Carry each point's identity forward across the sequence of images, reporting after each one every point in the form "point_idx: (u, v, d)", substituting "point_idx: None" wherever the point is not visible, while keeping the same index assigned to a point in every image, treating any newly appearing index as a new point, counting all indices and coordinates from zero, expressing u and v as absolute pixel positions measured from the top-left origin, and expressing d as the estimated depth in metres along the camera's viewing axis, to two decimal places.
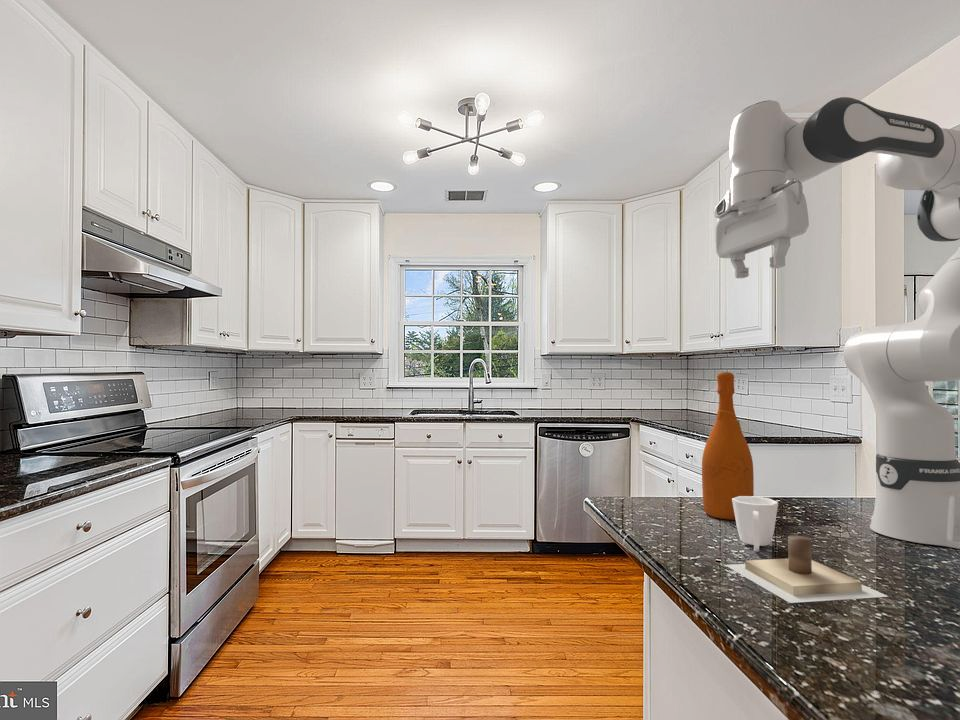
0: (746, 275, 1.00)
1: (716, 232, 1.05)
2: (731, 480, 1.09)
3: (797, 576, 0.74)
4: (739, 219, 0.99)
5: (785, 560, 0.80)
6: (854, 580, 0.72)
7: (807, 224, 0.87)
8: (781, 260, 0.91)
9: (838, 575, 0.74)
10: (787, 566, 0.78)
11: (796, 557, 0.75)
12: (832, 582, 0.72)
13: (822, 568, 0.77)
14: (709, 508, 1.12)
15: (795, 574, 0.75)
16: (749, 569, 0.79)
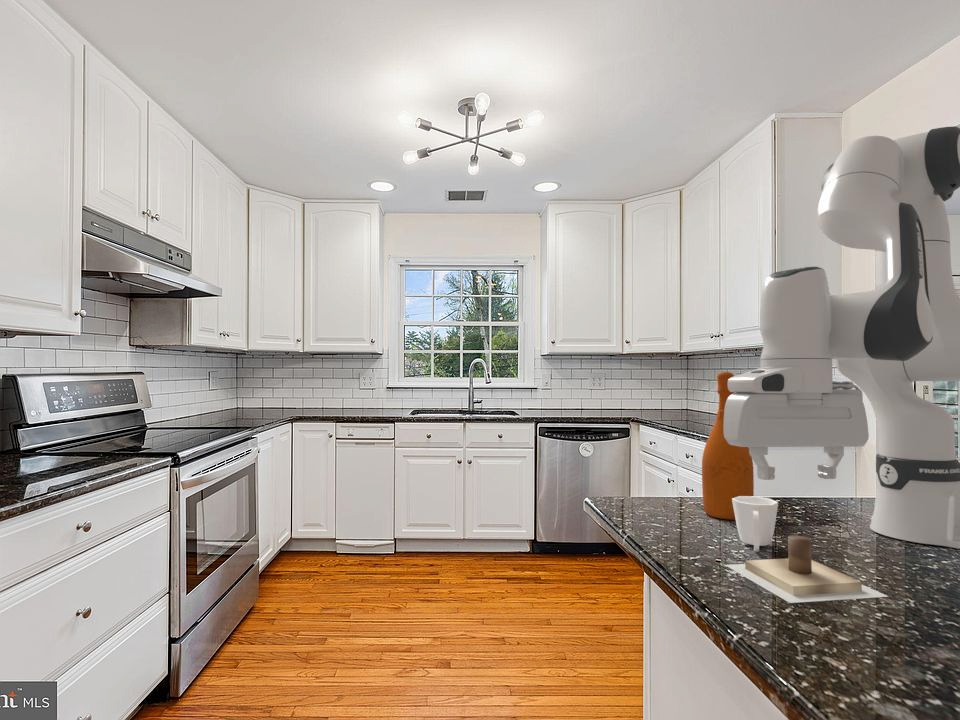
0: None
1: (747, 411, 0.73)
2: (731, 480, 1.09)
3: (797, 576, 0.74)
4: (787, 406, 0.75)
5: (785, 560, 0.80)
6: (854, 580, 0.72)
7: None
8: None
9: (838, 575, 0.74)
10: (787, 566, 0.78)
11: (796, 557, 0.75)
12: (832, 582, 0.72)
13: (822, 568, 0.77)
14: (709, 508, 1.12)
15: (795, 574, 0.75)
16: (749, 569, 0.79)
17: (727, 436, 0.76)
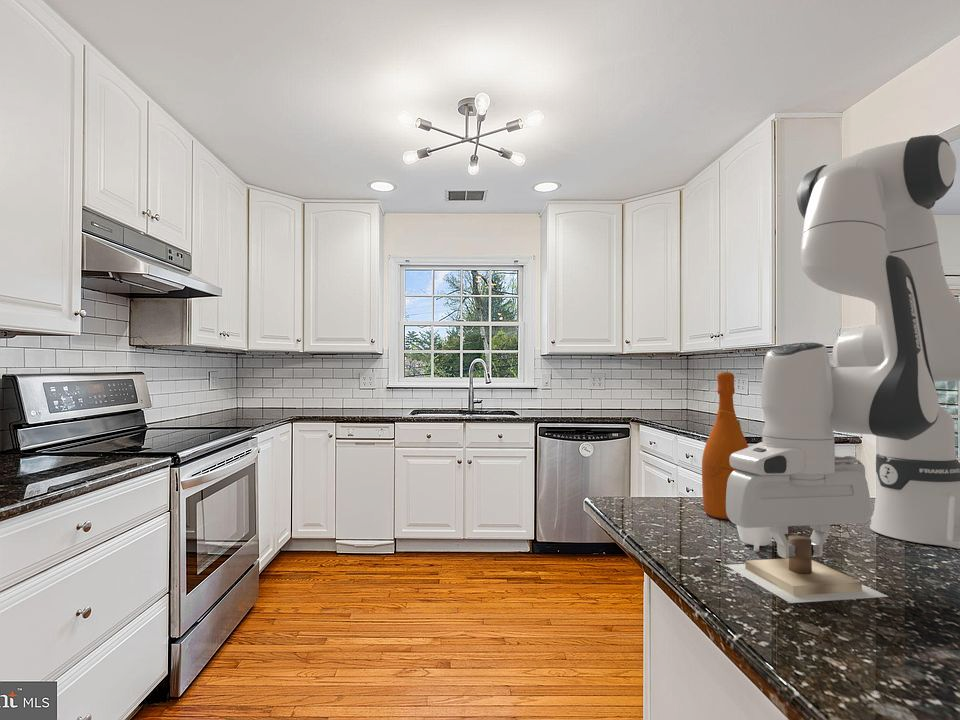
0: None
1: (750, 493, 0.73)
2: None
3: (797, 576, 0.74)
4: (789, 485, 0.74)
5: (785, 560, 0.80)
6: (854, 580, 0.72)
7: None
8: None
9: (839, 575, 0.74)
10: (787, 566, 0.78)
11: (796, 557, 0.75)
12: (832, 582, 0.72)
13: (822, 568, 0.77)
14: (709, 508, 1.12)
15: (795, 574, 0.75)
16: (749, 569, 0.79)
17: (729, 515, 0.76)
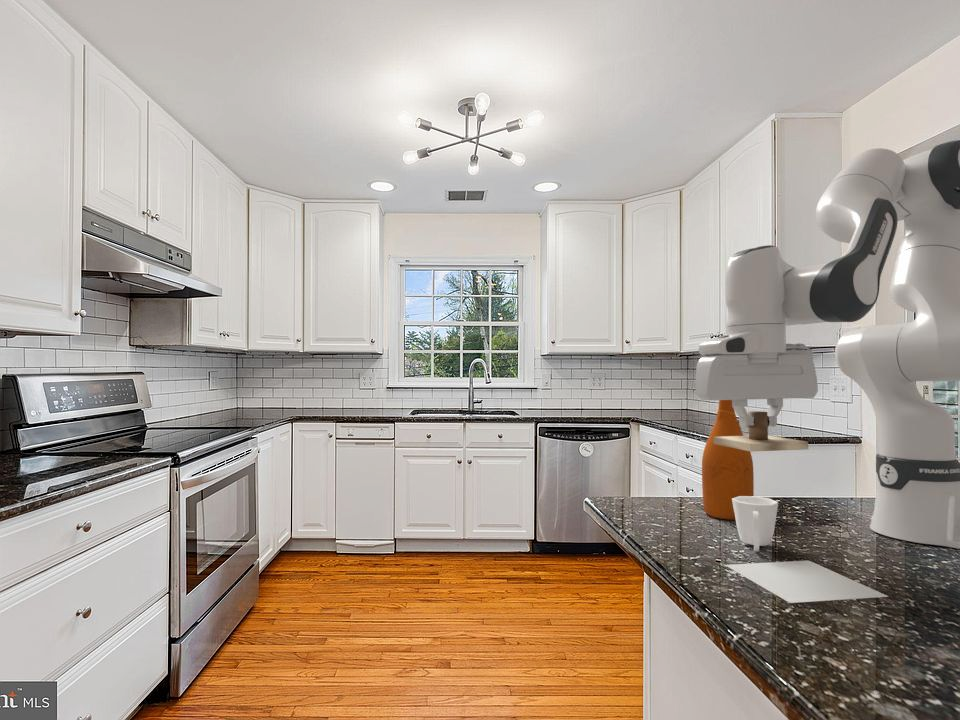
0: None
1: (715, 370, 0.87)
2: (731, 480, 1.09)
3: (755, 440, 0.87)
4: (748, 365, 0.88)
5: (747, 436, 0.94)
6: (802, 441, 0.86)
7: None
8: None
9: (790, 439, 0.88)
10: (748, 438, 0.92)
11: (754, 426, 0.89)
12: (783, 442, 0.86)
13: (777, 438, 0.91)
14: (709, 508, 1.12)
15: (754, 440, 0.88)
16: (716, 442, 0.93)
17: (698, 392, 0.89)
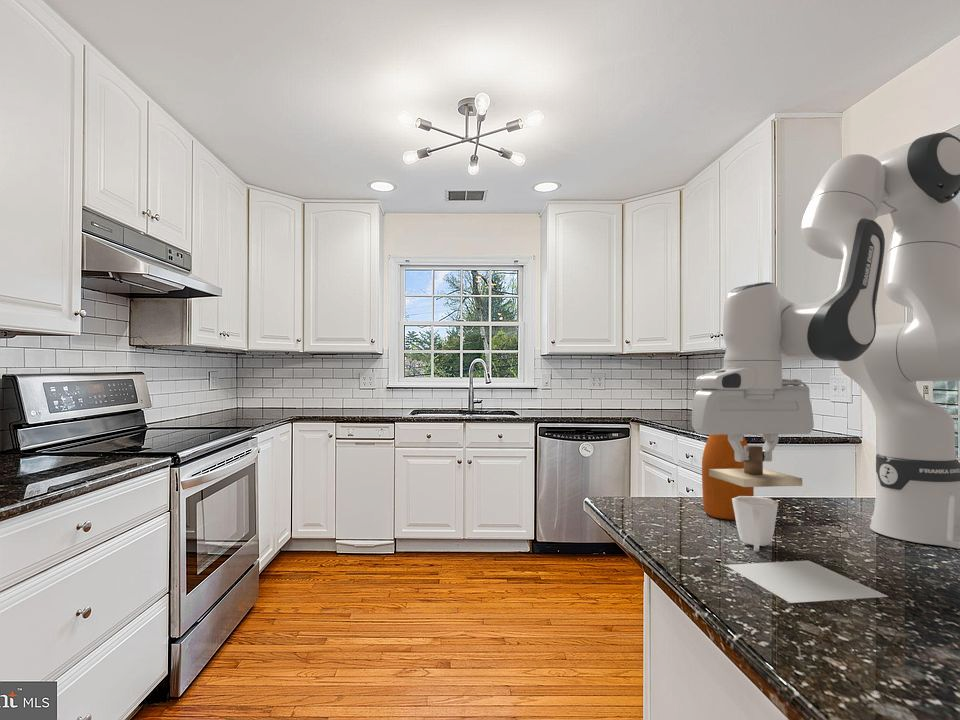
0: None
1: (710, 404, 0.88)
2: None
3: (750, 475, 0.88)
4: (744, 400, 0.89)
5: (743, 469, 0.95)
6: (796, 477, 0.87)
7: None
8: None
9: (784, 475, 0.89)
10: (743, 471, 0.92)
11: (749, 461, 0.90)
12: (778, 478, 0.86)
13: (772, 472, 0.91)
14: (709, 508, 1.12)
15: (748, 474, 0.89)
16: (712, 475, 0.94)
17: (694, 426, 0.90)
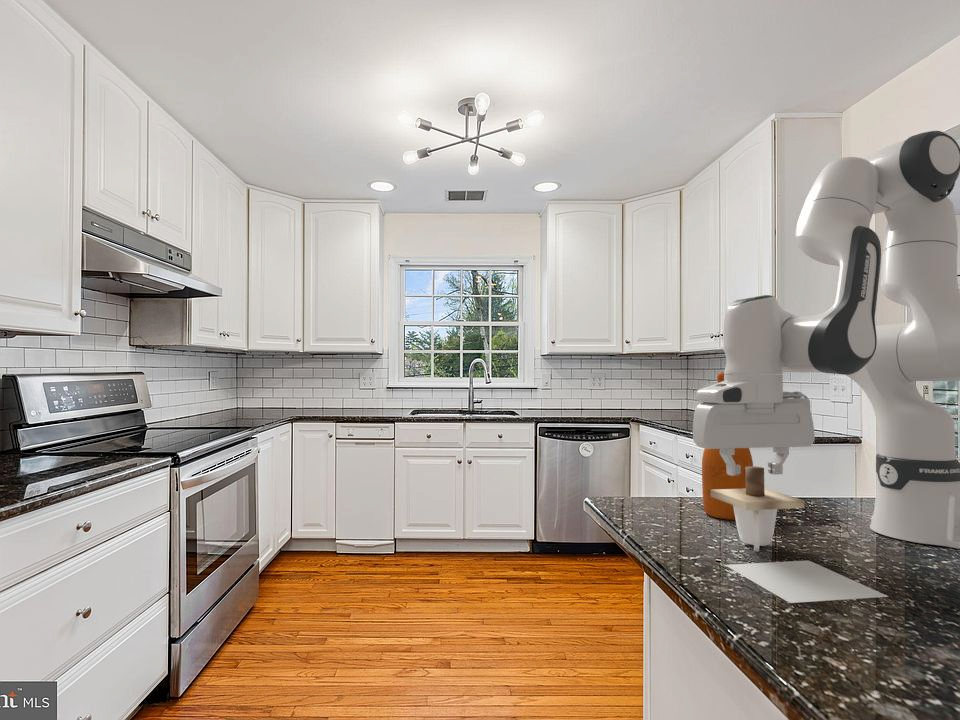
0: None
1: (711, 419, 0.87)
2: (731, 480, 1.09)
3: (752, 497, 0.88)
4: (745, 414, 0.89)
5: (744, 489, 0.95)
6: (798, 499, 0.87)
7: None
8: None
9: (786, 496, 0.89)
10: (745, 492, 0.92)
11: (751, 483, 0.90)
12: (779, 500, 0.86)
13: (774, 493, 0.91)
14: (709, 508, 1.12)
15: (750, 496, 0.89)
16: (713, 496, 0.94)
17: (695, 440, 0.90)
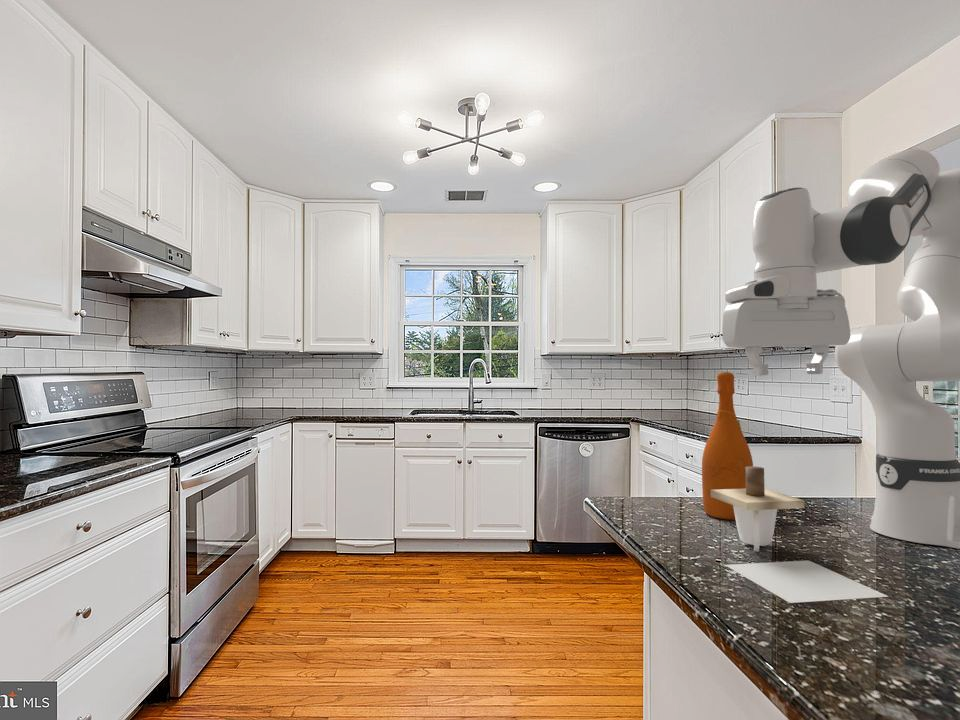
0: None
1: (742, 315, 0.84)
2: (731, 480, 1.09)
3: (752, 497, 0.88)
4: (777, 310, 0.86)
5: (744, 489, 0.95)
6: (798, 499, 0.87)
7: None
8: None
9: (786, 496, 0.89)
10: (745, 492, 0.92)
11: (751, 483, 0.90)
12: (779, 500, 0.86)
13: (774, 493, 0.91)
14: (709, 508, 1.12)
15: (750, 496, 0.89)
16: (713, 496, 0.94)
17: (725, 340, 0.87)
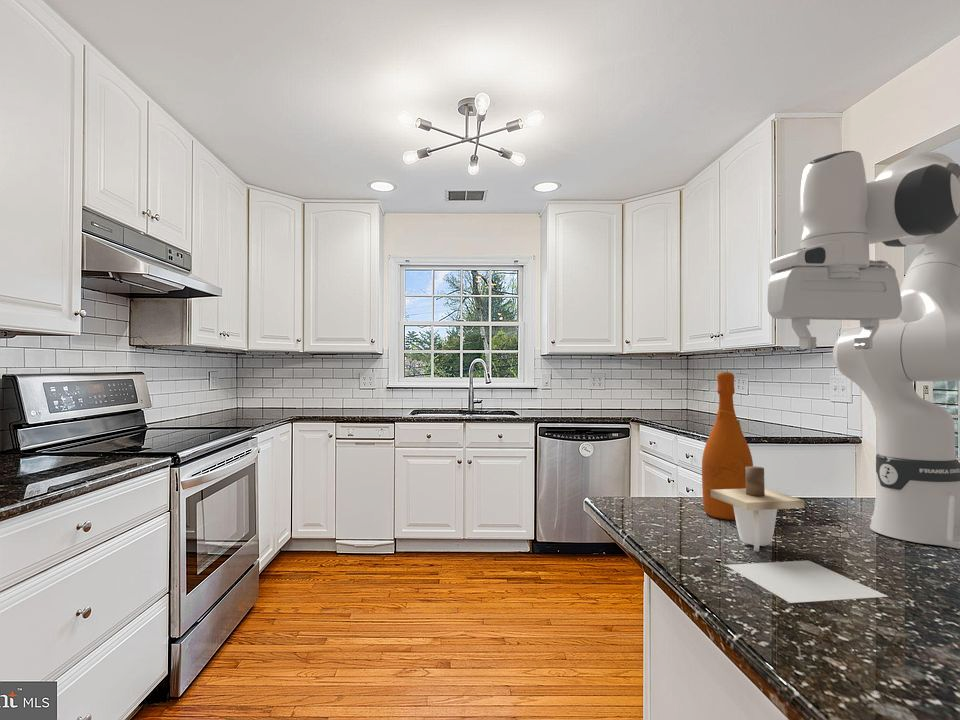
0: None
1: (792, 282, 0.79)
2: (731, 480, 1.09)
3: (752, 497, 0.88)
4: (827, 279, 0.81)
5: (744, 489, 0.95)
6: (798, 499, 0.87)
7: None
8: None
9: (786, 496, 0.89)
10: (745, 492, 0.92)
11: (751, 483, 0.90)
12: (780, 500, 0.86)
13: (774, 493, 0.91)
14: (709, 508, 1.12)
15: (750, 496, 0.89)
16: (713, 496, 0.94)
17: (771, 310, 0.82)
